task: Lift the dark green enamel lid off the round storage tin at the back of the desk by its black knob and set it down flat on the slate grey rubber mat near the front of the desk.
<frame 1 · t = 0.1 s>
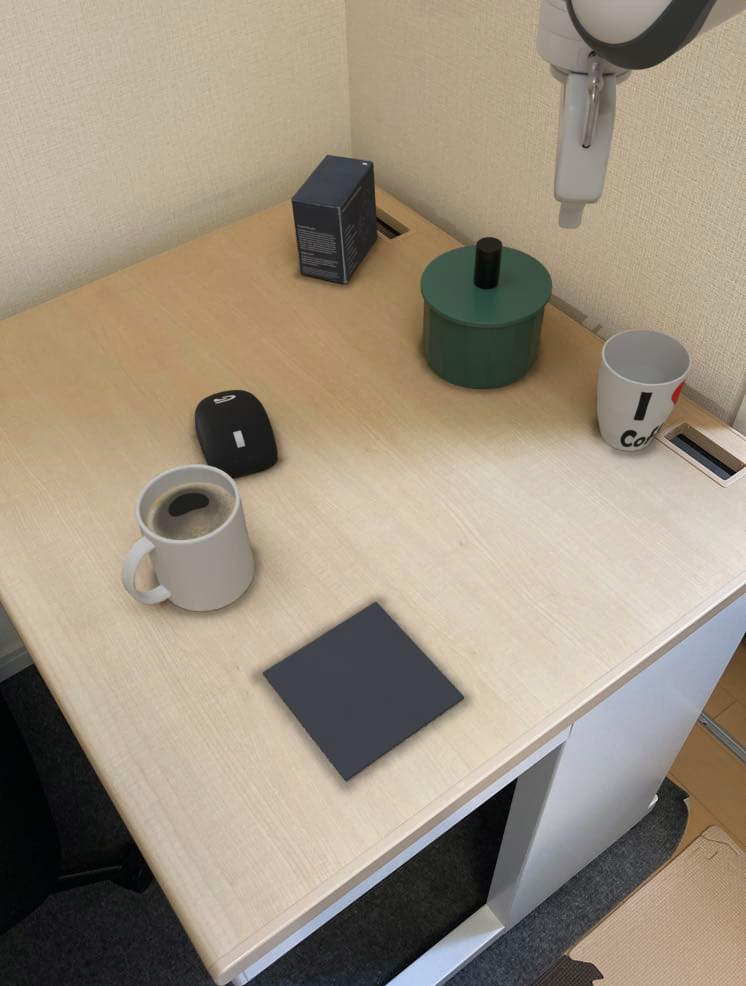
hand: (570, 193, 80), 23 cm above the table, tool pointing down, fingers open, 8 cm apart
tin: (479, 350, 102), on the table
box: (338, 257, 114), on the table
mug: (196, 578, 84), on the table
computer mouse: (235, 439, 95), on the table
mat: (362, 686, 76), on the table
tin lid: (485, 287, 95), point 8 cm above the table, touching tin
cup: (625, 434, 93), on the table
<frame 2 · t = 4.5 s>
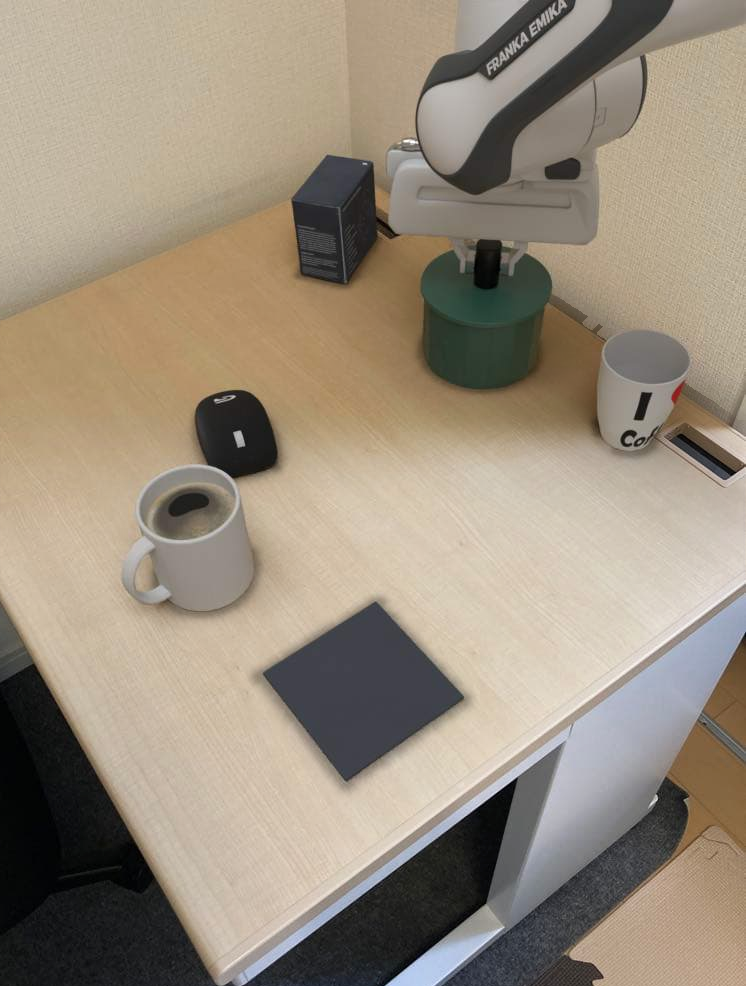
hand: (487, 271, 94), 10 cm above the table, tool pointing down, fingers closed on tin lid, 2 cm apart
tin lid: (485, 286, 95), point 9 cm above the table, touching gripper, tin
everything else where it was.
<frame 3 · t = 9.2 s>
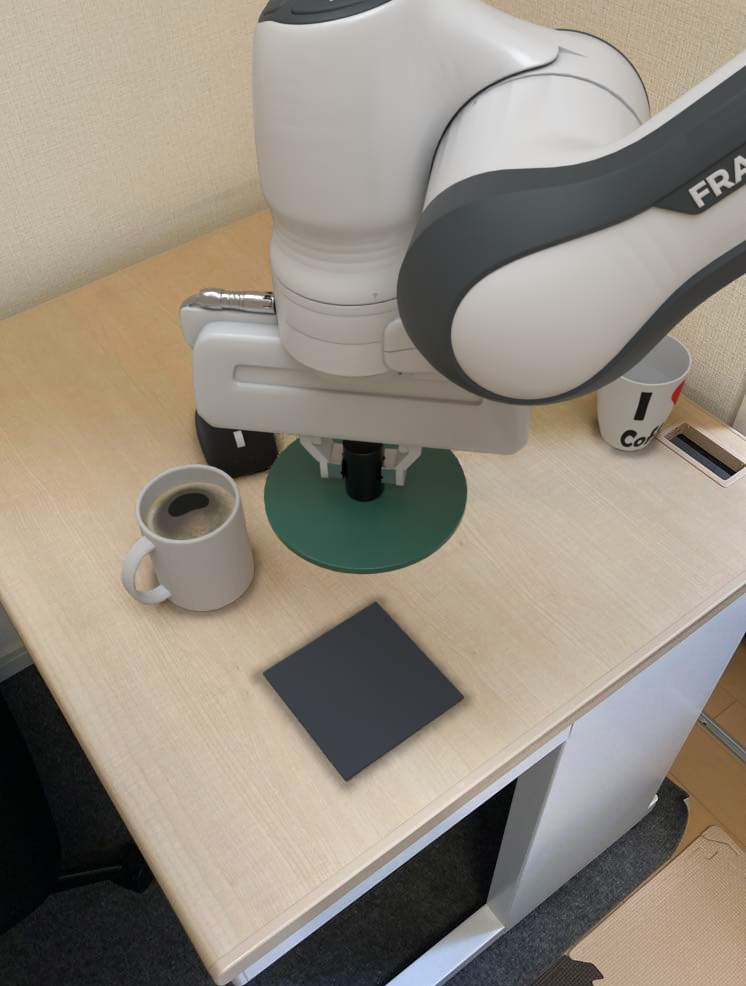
hand: (364, 474, 60), 23 cm above the table, tool pointing down, fingers closed on tin lid, 2 cm apart
tin lid: (365, 493, 61), point 21 cm above the table, touching gripper
everything else where it was.
when the fingers open (3 cm above the table, at t = 13.9 s): tin lid stays where it is, resting on mat.
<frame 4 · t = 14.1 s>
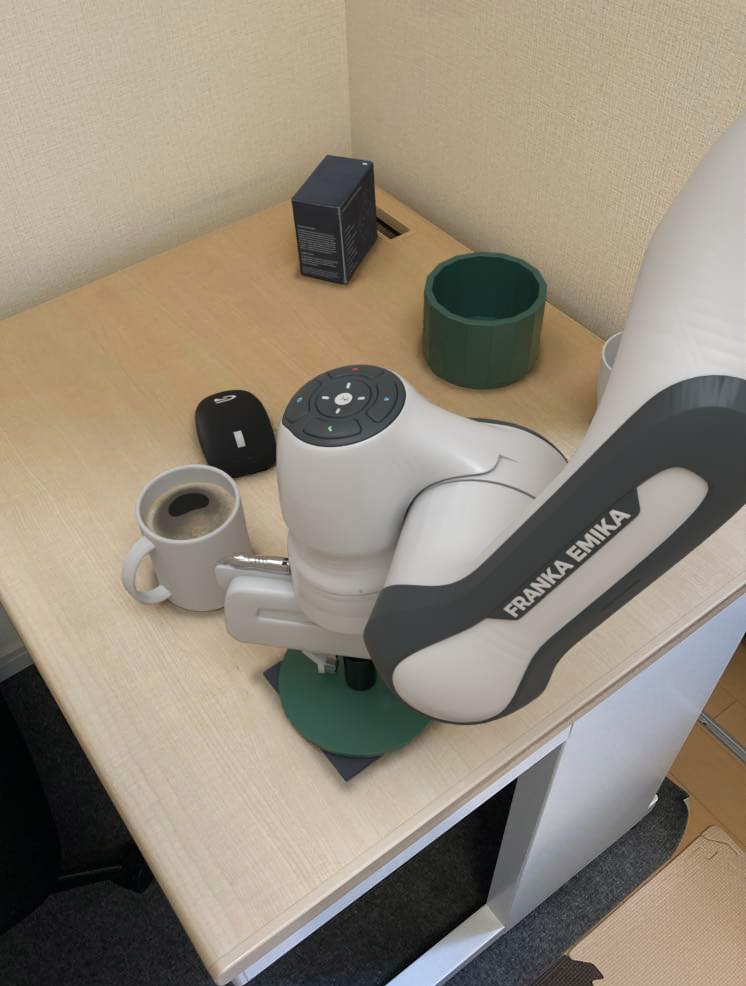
hand: (361, 670, 74), 3 cm above the table, tool pointing down, fingers open, 4 cm apart
tin lid: (361, 681, 75), point 1 cm above the table, touching mat
everything else where it was.
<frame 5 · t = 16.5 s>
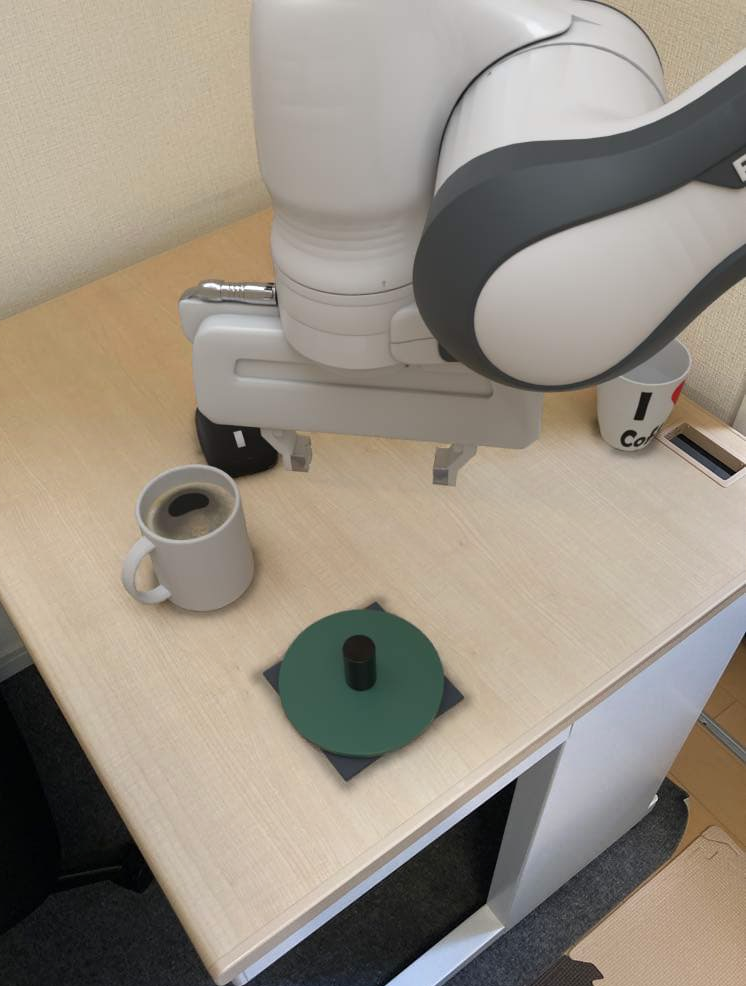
hand: (371, 471, 58), 24 cm above the table, tool pointing down, fingers open, 8 cm apart
nothing on the table moved.
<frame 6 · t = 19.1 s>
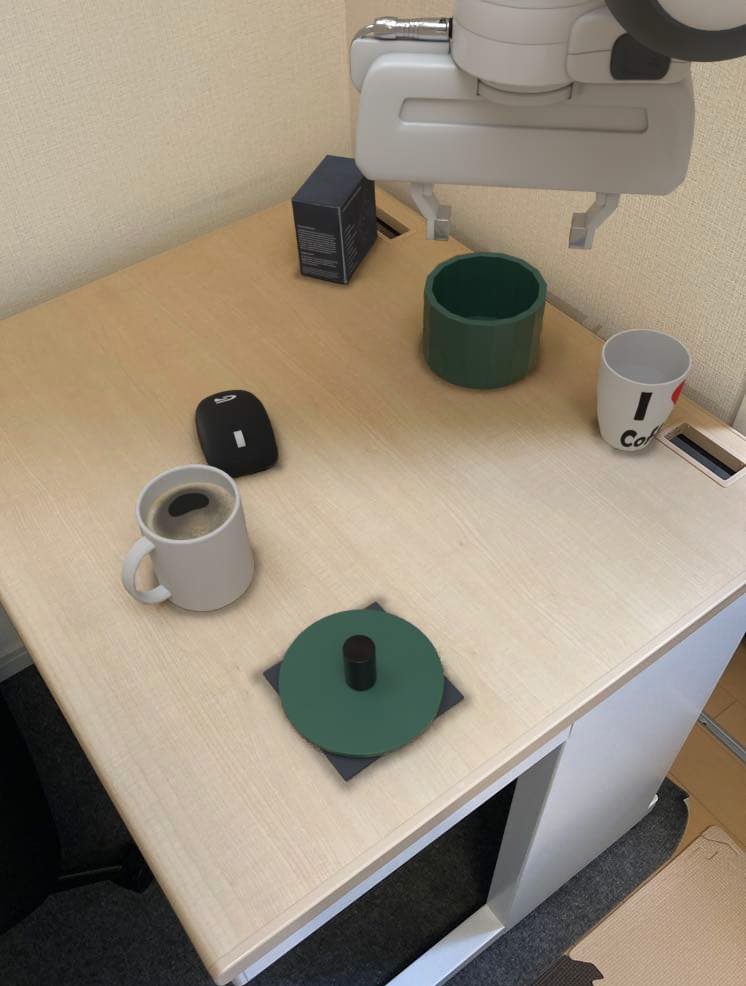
hand: (508, 240, 61), 31 cm above the table, tool pointing down, fingers open, 8 cm apart
nothing on the table moved.
at the end: tin lid inside the target area on the mat (0.1 cm from its centre), point 1.0 cm above the mat's base; tin lid touching mat; tin lid tilted 0° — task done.
